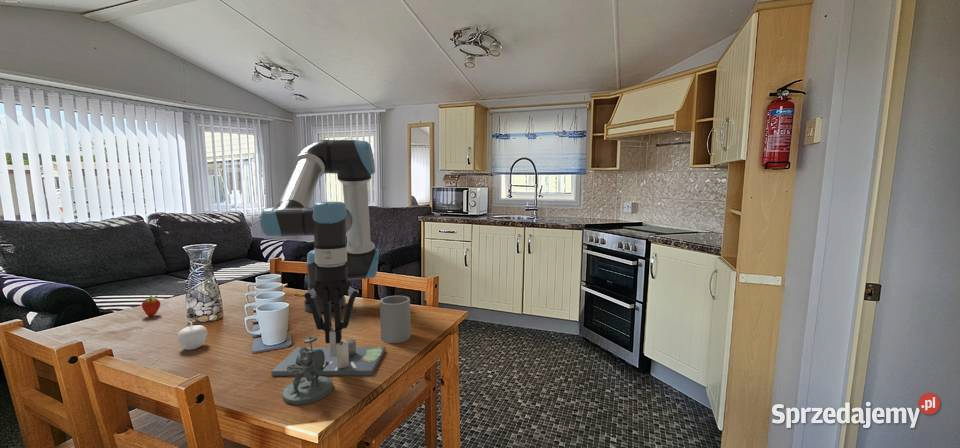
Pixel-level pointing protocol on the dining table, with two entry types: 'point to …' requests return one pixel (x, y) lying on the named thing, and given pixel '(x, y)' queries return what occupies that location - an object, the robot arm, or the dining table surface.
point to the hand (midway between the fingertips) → (334, 354)
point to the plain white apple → (192, 336)
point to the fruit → (151, 305)
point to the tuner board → (358, 363)
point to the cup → (395, 319)
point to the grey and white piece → (345, 352)
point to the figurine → (307, 377)
